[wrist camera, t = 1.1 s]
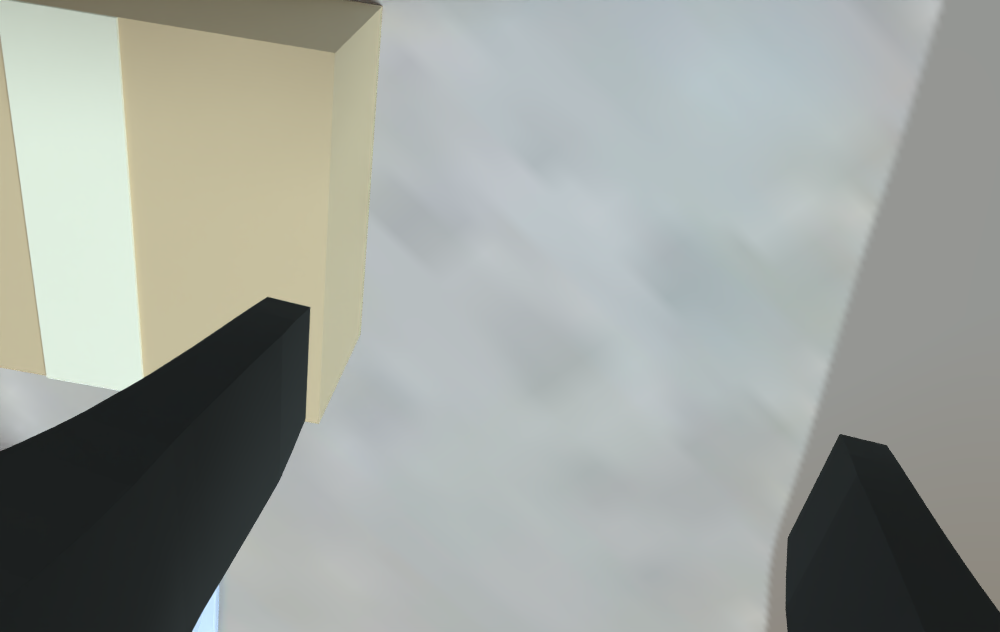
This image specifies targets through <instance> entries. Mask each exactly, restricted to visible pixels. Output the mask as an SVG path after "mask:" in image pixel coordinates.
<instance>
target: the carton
mask: <svg viewBox="0 0 1000 632" xmlns="http://www.w3.org/2000/svg"><path fill="white" fill-rule="evenodd" d="M382 7H383V6H380V5H373V4H367V3H361V2H355V1H349V0H0V368H6V369H12V370H17V371H23V372H29V373H34V374H40V375H45V376H47V378H50V379H56V380H62V381H67V382H73V383H79V384H84V385H90V386H96V387H101V388H107V389H113V390H118V391H122V390H123V389H125V388H127V387H129V386H130V385H132V384H134V383H136V382H137V381H139V380H141V379H142V378H144V377H146V376H147V375H149V374H151V373H152V372H154V371H155V370H157V369H158V368H160V367H162V366H163V365H165V364H166V363H168V362H169V361H171V360H172V359H174V358H176V357H177V356H179V355H180V354H182V353H183V352H185V351H187V350H188V349H190V348H191V347H193V346H194V345H196V344H197V343H199V342H200V341H202V340H203V339H205V338H206V337H208V336H209V335H211V334H212V333H214V332H215V331H217V330H218V329H220V328H221V327H223V326H224V325H225V324H227V323H228V322H230V321H231V320H233V319H234V318H236V317H237V316H239V315H240V314H242V313H243V312H245V311H246V310H248V309H249V308H251V307H252V306H254V305H255V304H257V303H258V302H260V301H262V300H263V299H265V298H266V297H271V298H275V299H279V300H283V301H287V302H291V303H296V304H300V305H304V306H308V307H310V329H309V352H308V376H307V399H306V419H305V422H311V423H317V424H319V422H320V420H321V418H322V416H323V414H324V412H325V409H326V407H327V405H328V403H329V401H330V399H331V396H332V394H333V392H334V390H335V388H336V386H337V383H338V381H339V379H340V377H341V375H342V373H343V371H344V368H345V366H346V364H347V362H348V360H349V358H350V355H351V353H352V351H353V349H354V347H355V345H356V342H357V340H358V338H359V336H360V333H361V318H362V303H363V289H364V274H365V259H366V244H367V229H368V214H369V200H370V185H371V170H372V155H373V140H374V125H375V111H376V96H377V81H378V66H379V51H380V37H381V22H382Z"/></svg>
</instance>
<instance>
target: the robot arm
mask: <svg viewBox="0 0 1000 632" xmlns="http://www.w3.org/2000/svg"><path fill="white" fill-rule="evenodd" d="M309 329H310V307H308V306H304V305H300V304H296V303H291V302H287V301H283V300H279V299H275V298H271V297H266V298H265V299H263V300H262V301H260V302H258V303H257V304H255V305H254V306H252V307H251V308H249V309H248V310H246V311H245V312H243V313H242V314H240V315H239V316H237V317H236V318H234V319H233V320H231V321H230V322H228V323H227V324H225V325H224V326H223V327H221V328H220V329H218V330H217V331H215V332H214V333H212V334H211V335H209V336H208V337H206V338H205V339H203V340H202V341H200V342H199V343H197V344H196V345H194V346H193V347H191V348H190V349H188V350H187V351H185V352H183V353H182V354H180V355H179V356H177V357H176V358H174V359H172V360H171V361H169V362H168V363H166V364H165V365H163V366H162V367H160V368H158V369H157V370H155V371H154V372H152V373H151V374H149V375H147V376H146V377H144V378H142V379H141V380H139V381H137V382H136V383H134V384H132V385H130V386H129V387H127V388H125V389H123V390H122V391H120V392H118V393H116V394H115V395H113V396H111V397H109V398H108V399H106V400H104V401H102V402H101V403H99V404H97V405H95V406H94V407H92V408H90V409H88V410H86V411H85V412H83V413H81V414H79V415H77V416H75V417H73V418H71V419H69V420H67V421H65V422H63V423H61V424H59V425H57V426H55V427H53V428H51V429H49V430H47V431H44V432H42V433H40V434H38V435H36V436H34V437H31V438H29V439H27V440H25V441H23V442H21V443H19V444H16V445H14V446H12V447H9V448H7V449H5V450H2V451H0V632H218V614H219V583H220V581H221V580H222V578H223V576H224V575H225V573H226V571H227V570H228V568H229V566H230V565H231V563H232V561H233V559H234V558H235V556H236V554H237V553H238V551H239V549H240V548H241V546H242V544H243V542H244V541H245V539H246V537H247V536H248V534H249V532H250V531H251V529H252V527H253V525H254V524H255V522H256V520H257V519H258V517H259V515H260V513H261V512H262V510H263V508H264V507H265V505H266V503H267V501H268V500H269V498H270V496H271V494H272V493H273V491H274V489H275V487H276V486H277V484H278V482H279V480H280V478H281V476H282V473H283V471H284V469H285V467H286V464H287V462H288V460H289V457H290V455H291V453H292V450H293V448H294V446H295V443H296V441H297V438H298V436H299V433H300V431H301V429H302V426H303V424H304V421H305V419H306V399H307V376H308V352H309ZM786 618H787V627H788V628H787V629H788V632H1000V612H999V611H998V610H997V608H996V607H995V605H994V604H993V603H992V601H991V600H990V598H989V597H988V596H987V594H986V593H985V592H984V590H983V589H982V588H981V586H980V585H979V583H978V582H977V580H976V579H975V578H974V576H973V575H972V573H971V572H970V571H969V569H968V568H967V566H966V565H965V563H964V562H963V560H962V559H961V558H960V556H959V555H958V553H957V552H956V550H955V549H954V547H953V546H952V544H951V543H950V541H949V540H948V539H947V537H946V535H945V534H944V532H943V531H942V529H941V528H940V526H939V525H938V523H937V522H936V520H935V519H934V517H933V516H932V514H931V513H930V511H929V509H928V508H927V507H926V505H925V503H924V502H923V500H922V499H921V497H920V496H919V494H918V493H917V491H916V489H915V488H914V486H913V485H912V483H911V482H910V480H909V478H908V477H907V476H906V474H905V472H904V471H903V469H902V468H901V466H900V464H899V463H898V462H897V460H896V458H895V457H894V455H893V454H892V453H891V451H890V450H889V448H888V447H887V445H883V444H879V443H875V442H871V441H866V440H862V439H858V438H853V437H850V436H846V435H842V434H840V435H839V437H838V439H837V441H836V443H835V445H834V447H833V449H832V451H831V453H830V455H829V457H828V459H827V461H826V463H825V465H824V467H823V469H822V471H821V473H820V475H819V477H818V479H817V481H816V483H815V485H814V487H813V489H812V491H811V493H810V495H809V497H808V499H807V501H806V503H805V505H804V507H803V509H802V511H801V513H800V515H799V517H798V519H797V521H796V523H795V525H794V527H793V528H792V530H791V533H790V534H789V537H788V546H787V570H786Z"/></svg>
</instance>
